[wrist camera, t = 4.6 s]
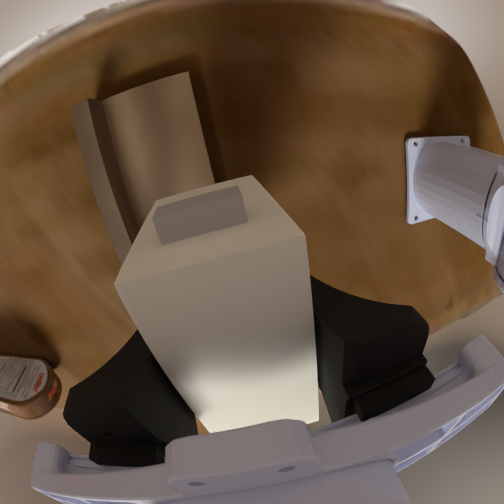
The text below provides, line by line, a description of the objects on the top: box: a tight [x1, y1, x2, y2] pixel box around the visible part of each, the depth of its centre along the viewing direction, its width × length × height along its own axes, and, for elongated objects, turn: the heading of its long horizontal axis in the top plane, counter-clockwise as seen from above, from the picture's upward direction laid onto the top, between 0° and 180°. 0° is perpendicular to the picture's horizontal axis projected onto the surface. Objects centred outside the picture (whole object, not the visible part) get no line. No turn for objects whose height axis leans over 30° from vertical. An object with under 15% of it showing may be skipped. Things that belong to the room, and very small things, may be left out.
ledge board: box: [70, 71, 215, 265], centre depth 18 cm, size 7×22×4 cm, turn 12°
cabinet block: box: [114, 175, 319, 433], centre depth 11 cm, size 4×10×7 cm, turn 12°
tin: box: [0, 354, 62, 420], centre depth 20 cm, size 15×3×8 cm, turn 93°
